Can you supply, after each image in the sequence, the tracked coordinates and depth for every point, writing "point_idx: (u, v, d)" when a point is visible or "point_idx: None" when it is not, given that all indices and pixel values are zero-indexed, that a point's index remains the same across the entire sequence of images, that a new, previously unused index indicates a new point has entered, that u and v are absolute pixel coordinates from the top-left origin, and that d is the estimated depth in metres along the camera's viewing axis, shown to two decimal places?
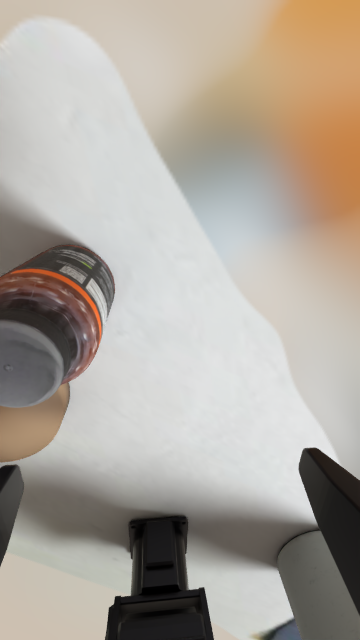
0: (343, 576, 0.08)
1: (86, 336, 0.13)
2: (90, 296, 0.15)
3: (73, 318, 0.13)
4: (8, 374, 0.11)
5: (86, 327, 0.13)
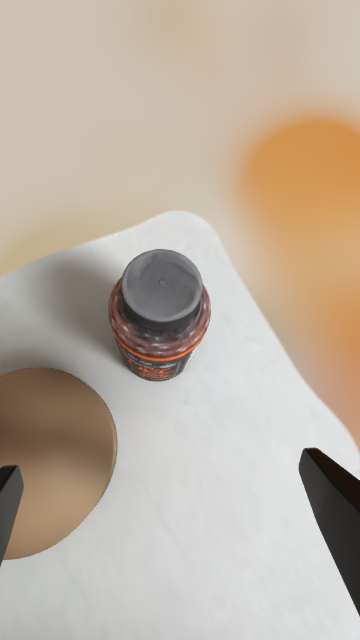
0: (343, 576, 0.08)
1: (205, 306, 0.16)
2: None
3: None
4: (160, 286, 0.14)
5: (206, 300, 0.17)
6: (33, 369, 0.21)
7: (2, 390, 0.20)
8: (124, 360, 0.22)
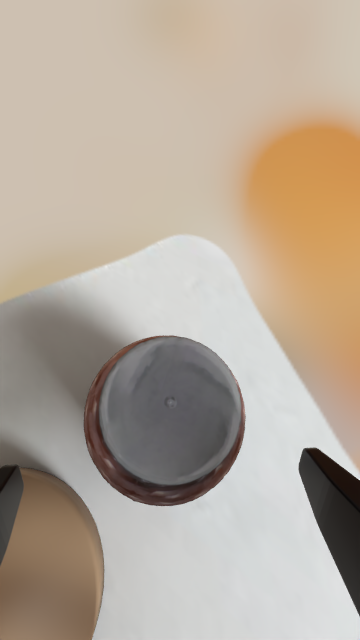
0: (343, 576, 0.08)
1: None
2: None
3: None
4: (168, 412, 0.08)
5: None
6: None
7: None
8: None
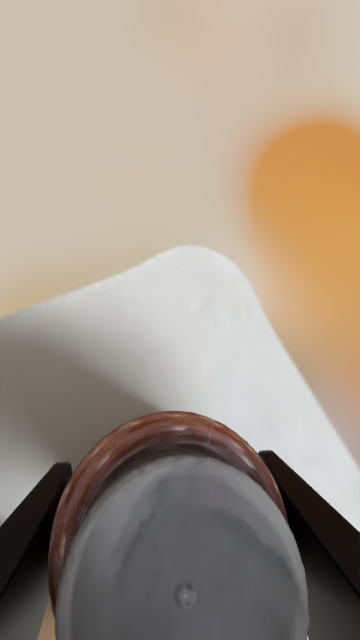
0: None
1: None
2: None
3: None
4: (180, 620, 0.04)
5: None
6: None
7: None
8: None
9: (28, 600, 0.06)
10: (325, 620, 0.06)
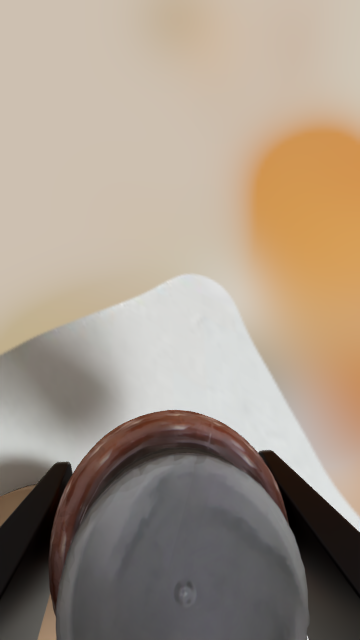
0: None
1: None
2: None
3: None
4: (181, 617, 0.04)
5: None
6: (27, 492, 0.18)
7: None
8: None
9: (28, 600, 0.06)
10: (325, 620, 0.06)
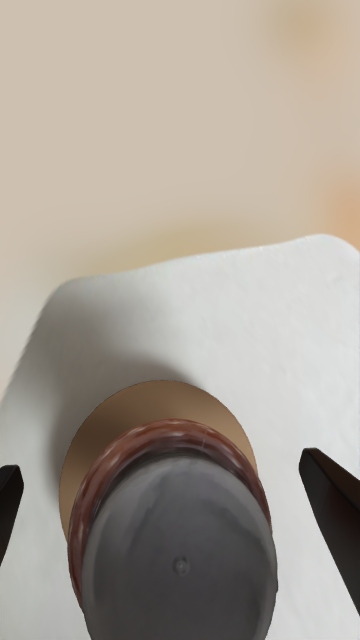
0: (343, 576, 0.08)
1: None
2: None
3: (252, 496, 0.08)
4: (177, 583, 0.06)
5: None
6: (177, 383, 0.18)
7: (144, 399, 0.18)
8: None
9: None
10: None
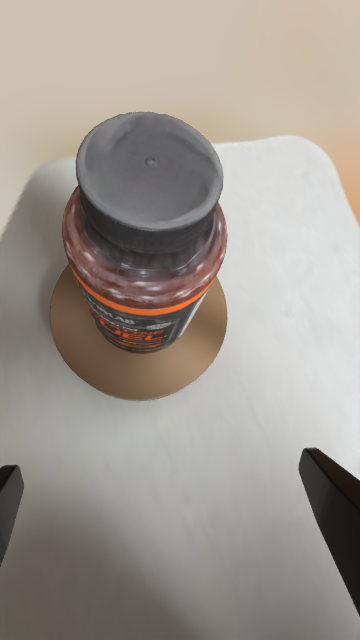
0: (343, 576, 0.08)
1: (220, 227, 0.10)
2: None
3: None
4: (148, 170, 0.08)
5: (222, 219, 0.10)
6: None
7: None
8: (96, 324, 0.15)
9: None
10: None
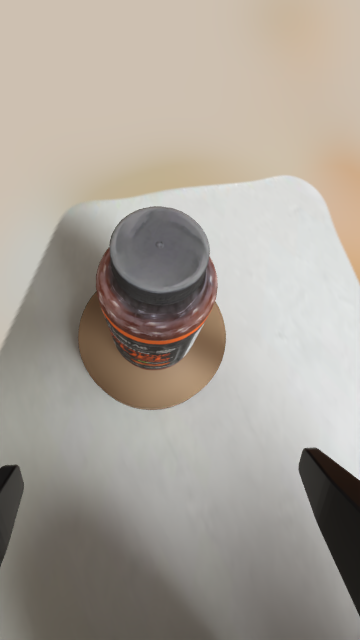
0: (343, 576, 0.08)
1: (211, 280, 0.14)
2: None
3: None
4: (157, 250, 0.11)
5: (213, 273, 0.14)
6: None
7: None
8: (116, 346, 0.19)
9: None
10: None
